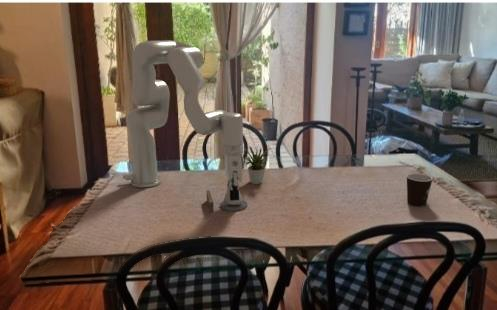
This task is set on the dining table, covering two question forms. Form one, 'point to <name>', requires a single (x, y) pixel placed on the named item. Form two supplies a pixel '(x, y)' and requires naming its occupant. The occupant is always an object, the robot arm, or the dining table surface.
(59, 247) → the dining table surface
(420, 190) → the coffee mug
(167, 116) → the robot arm
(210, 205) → the wooden plank
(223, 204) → the grey flat disc
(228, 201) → the flask
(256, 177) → the house plant
